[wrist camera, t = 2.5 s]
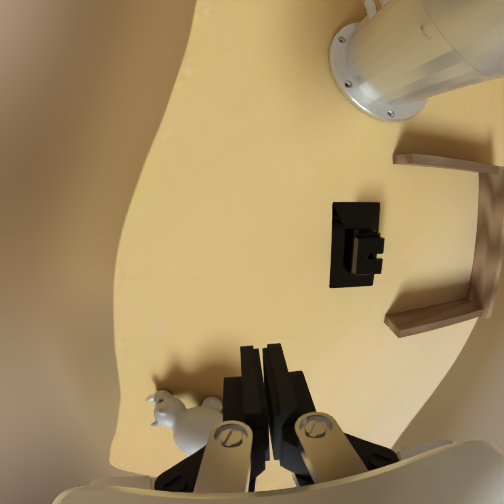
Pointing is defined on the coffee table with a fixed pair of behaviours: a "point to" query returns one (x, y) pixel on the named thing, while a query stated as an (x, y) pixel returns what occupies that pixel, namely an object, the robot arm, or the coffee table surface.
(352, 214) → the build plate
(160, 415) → the white animal figurine
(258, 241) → the coffee table surface
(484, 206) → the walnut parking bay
